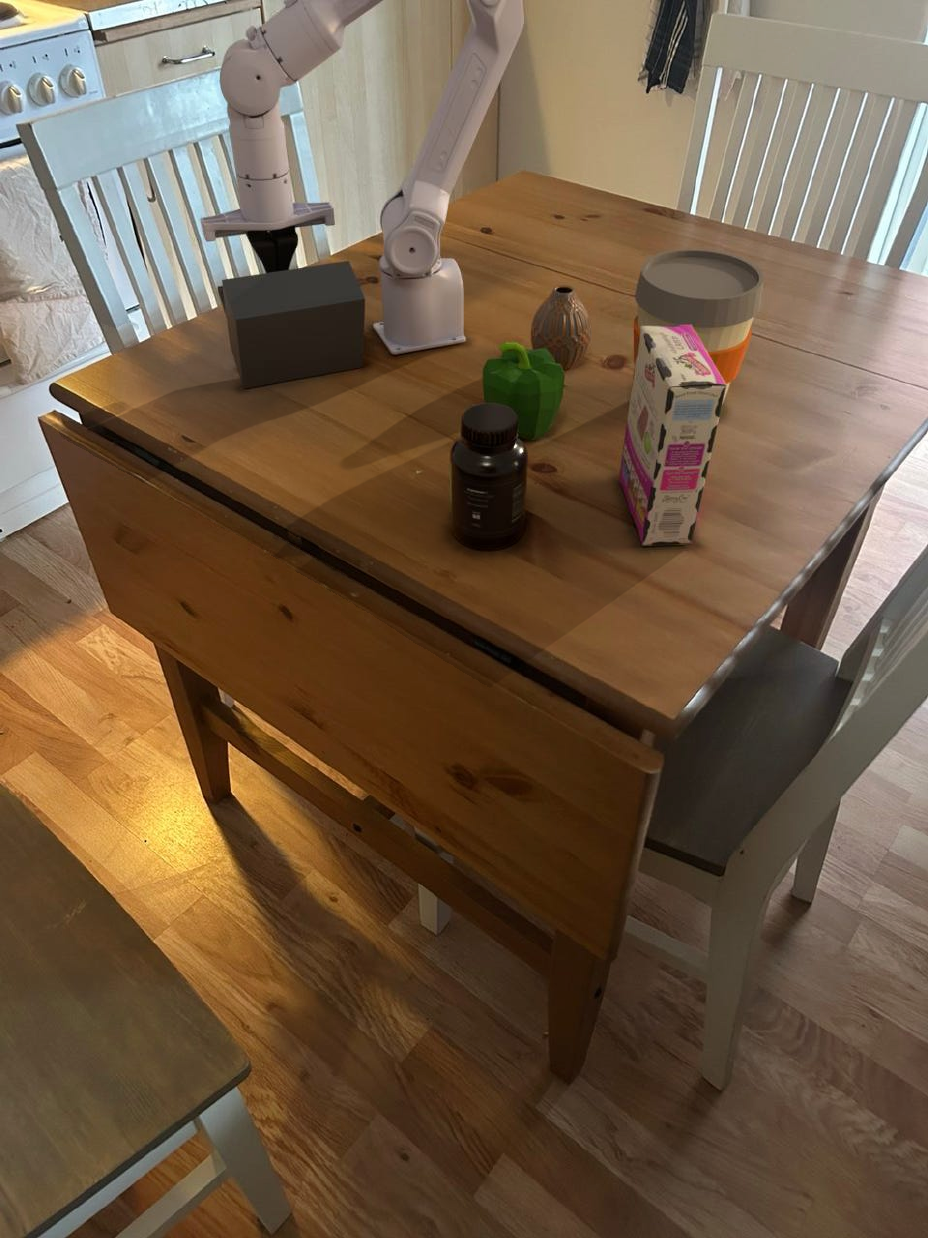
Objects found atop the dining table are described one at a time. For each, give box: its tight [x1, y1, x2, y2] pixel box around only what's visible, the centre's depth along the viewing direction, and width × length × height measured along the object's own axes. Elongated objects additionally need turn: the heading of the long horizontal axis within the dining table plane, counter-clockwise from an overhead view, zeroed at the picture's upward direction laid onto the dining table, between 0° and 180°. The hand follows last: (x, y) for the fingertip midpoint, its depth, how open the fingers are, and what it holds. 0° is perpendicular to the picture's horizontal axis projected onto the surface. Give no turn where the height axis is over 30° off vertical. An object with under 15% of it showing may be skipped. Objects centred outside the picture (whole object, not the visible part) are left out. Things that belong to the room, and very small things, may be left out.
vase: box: [530, 284, 592, 370], centre depth 110 cm, size 7×7×9 cm
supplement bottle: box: [449, 402, 529, 551], centre depth 85 cm, size 7×7×12 cm
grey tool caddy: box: [216, 260, 366, 389], centre depth 107 cm, size 10×14×11 cm
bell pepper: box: [482, 341, 566, 441], centre depth 99 cm, size 8×8×10 cm
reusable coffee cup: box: [633, 248, 764, 405], centre depth 100 cm, size 13×13×15 cm
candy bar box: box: [618, 325, 727, 547], centre depth 86 cm, size 11×5×16 cm, turn 5°
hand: (277, 292), depth 112 cm, fingers closed, pressing on grey tool caddy
